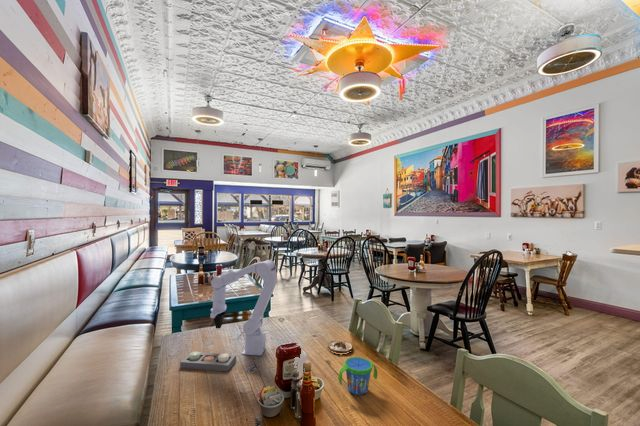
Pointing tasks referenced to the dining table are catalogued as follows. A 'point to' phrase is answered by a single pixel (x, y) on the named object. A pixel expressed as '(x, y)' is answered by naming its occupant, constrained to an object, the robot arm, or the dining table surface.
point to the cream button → (223, 358)
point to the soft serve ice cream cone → (300, 361)
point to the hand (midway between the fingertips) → (218, 327)
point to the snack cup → (357, 374)
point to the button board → (208, 363)
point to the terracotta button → (209, 358)
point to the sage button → (194, 356)
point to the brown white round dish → (340, 346)
